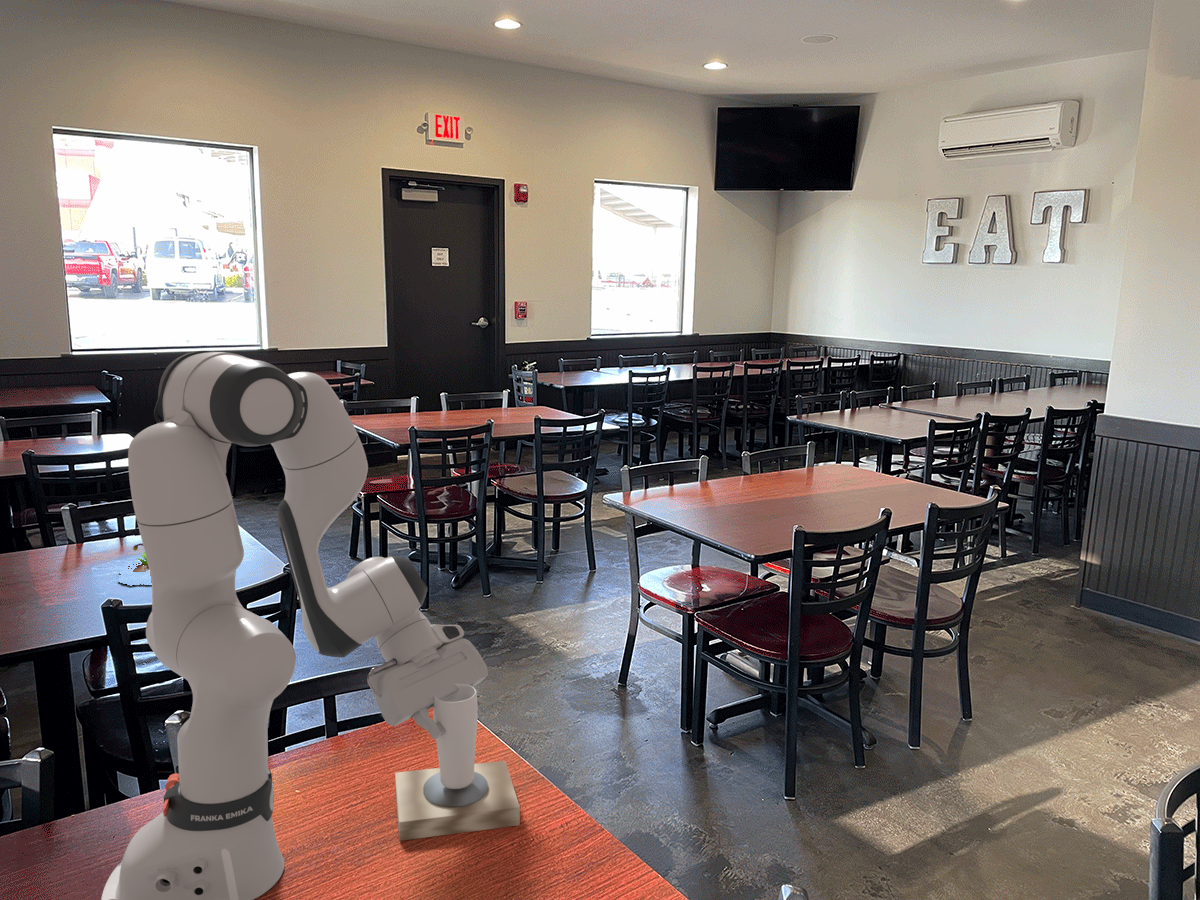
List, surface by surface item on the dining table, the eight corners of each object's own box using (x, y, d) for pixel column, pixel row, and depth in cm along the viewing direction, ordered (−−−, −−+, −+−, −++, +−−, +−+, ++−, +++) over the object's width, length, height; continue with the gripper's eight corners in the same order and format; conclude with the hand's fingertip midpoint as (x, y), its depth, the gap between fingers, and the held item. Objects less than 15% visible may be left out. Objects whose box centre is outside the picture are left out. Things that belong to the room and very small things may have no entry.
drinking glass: (470, 795, 134) (468, 704, 132) (428, 791, 136) (426, 700, 133) (484, 772, 141) (483, 684, 138) (444, 768, 142) (442, 681, 139)
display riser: (399, 840, 130) (399, 818, 129) (395, 789, 143) (395, 769, 143) (519, 825, 135) (520, 803, 134) (504, 777, 148) (505, 757, 147)
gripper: (372, 661, 130) (419, 743, 126) (467, 622, 147) (511, 693, 143) (352, 682, 133) (398, 762, 129) (447, 641, 150) (490, 711, 146)
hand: (458, 725), depth 136 cm, fingers closed on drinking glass, 7 cm apart
